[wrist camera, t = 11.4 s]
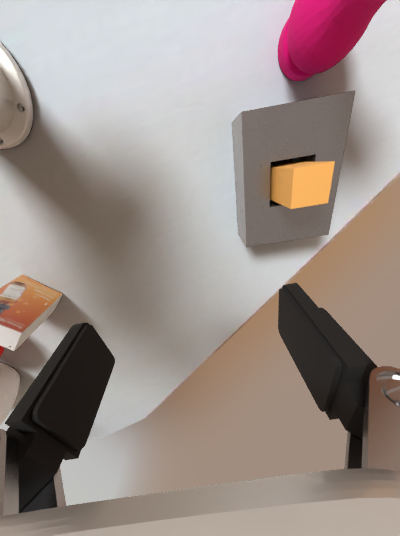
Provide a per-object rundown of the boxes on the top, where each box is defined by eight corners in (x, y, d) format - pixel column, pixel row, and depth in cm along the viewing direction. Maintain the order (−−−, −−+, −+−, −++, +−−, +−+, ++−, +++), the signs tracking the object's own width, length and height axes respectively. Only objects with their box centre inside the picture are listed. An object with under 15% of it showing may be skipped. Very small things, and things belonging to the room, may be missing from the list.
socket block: (231, 122, 26) (241, 111, 20) (321, 105, 25) (355, 90, 20) (238, 233, 33) (246, 246, 28) (306, 223, 33) (328, 234, 28)
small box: (64, 293, 39) (23, 333, 30) (55, 310, 41) (14, 352, 32) (21, 273, 36) (-37, 310, 27) (14, 292, 38) (-43, 332, 29)
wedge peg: (260, 166, 28) (293, 168, 19) (287, 162, 28) (335, 161, 19) (260, 194, 30) (290, 209, 21) (285, 190, 30) (327, 202, 20)
